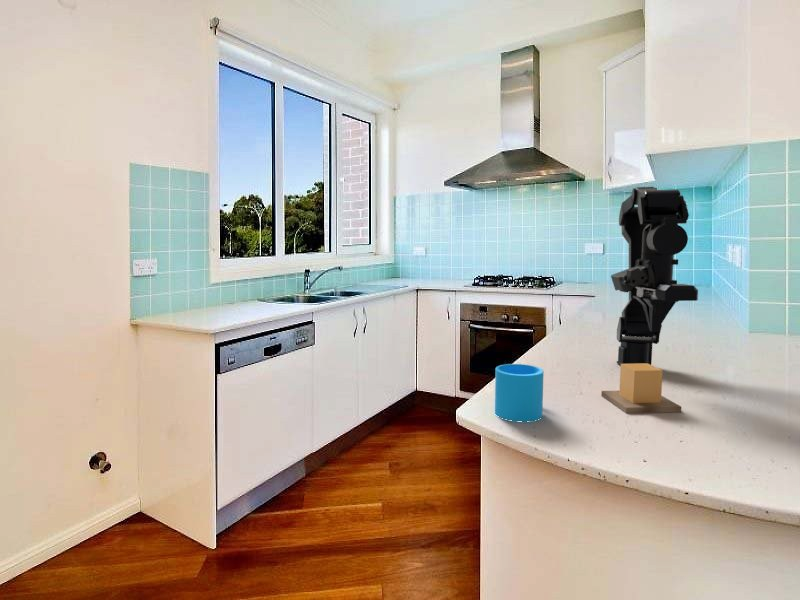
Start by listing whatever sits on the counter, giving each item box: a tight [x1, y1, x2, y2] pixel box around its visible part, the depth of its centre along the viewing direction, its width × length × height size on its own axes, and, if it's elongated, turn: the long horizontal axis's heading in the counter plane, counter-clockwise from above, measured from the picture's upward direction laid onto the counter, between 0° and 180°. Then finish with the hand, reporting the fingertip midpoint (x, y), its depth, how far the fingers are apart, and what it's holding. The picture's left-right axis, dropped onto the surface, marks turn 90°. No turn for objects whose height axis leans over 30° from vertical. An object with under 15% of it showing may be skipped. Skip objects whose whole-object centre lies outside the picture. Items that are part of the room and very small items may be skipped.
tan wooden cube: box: [618, 363, 664, 403], centre depth 94 cm, size 5×5×6 cm
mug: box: [494, 363, 544, 422], centre depth 90 cm, size 12×8×8 cm
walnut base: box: [600, 390, 682, 414], centre depth 94 cm, size 10×10×1 cm
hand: (653, 331), depth 102 cm, fingers closed
